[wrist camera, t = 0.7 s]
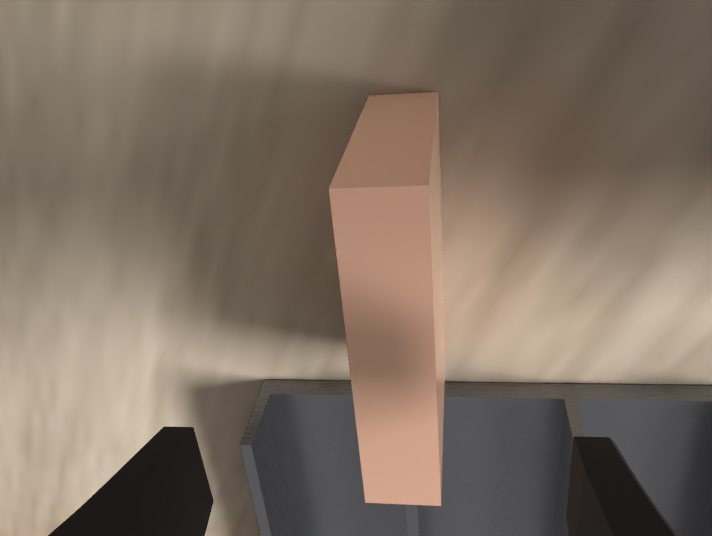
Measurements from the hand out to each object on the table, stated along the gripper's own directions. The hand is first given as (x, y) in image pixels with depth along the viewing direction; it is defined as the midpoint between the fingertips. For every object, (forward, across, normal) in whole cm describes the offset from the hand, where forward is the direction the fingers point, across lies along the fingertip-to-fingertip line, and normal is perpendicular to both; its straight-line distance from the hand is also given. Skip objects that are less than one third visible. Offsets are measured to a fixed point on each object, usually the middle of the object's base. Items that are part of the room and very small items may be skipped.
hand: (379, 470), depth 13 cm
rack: (+10, -2, +12) cm, 16 cm away
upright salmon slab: (+10, 0, 0) cm, 10 cm away
